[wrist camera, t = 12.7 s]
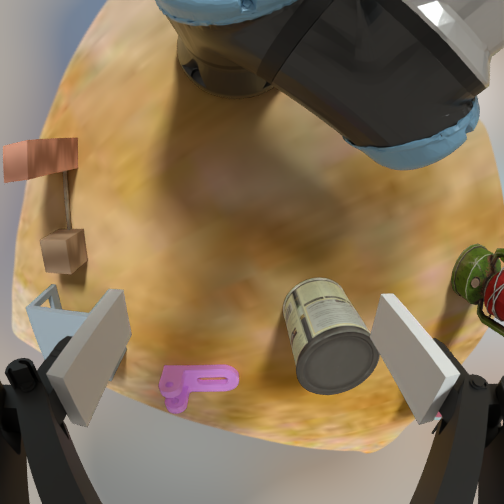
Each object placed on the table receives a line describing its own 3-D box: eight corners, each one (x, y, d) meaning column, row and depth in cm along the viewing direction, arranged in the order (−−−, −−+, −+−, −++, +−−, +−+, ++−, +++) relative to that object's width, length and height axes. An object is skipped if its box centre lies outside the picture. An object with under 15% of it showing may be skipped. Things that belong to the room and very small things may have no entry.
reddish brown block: (53, 141, 35) (1, 146, 23) (79, 137, 35) (28, 139, 24) (63, 258, 41) (21, 291, 30) (87, 259, 41) (48, 295, 30)
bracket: (171, 386, 50) (165, 413, 44) (164, 364, 49) (156, 391, 42) (240, 385, 51) (240, 413, 44) (237, 363, 49) (237, 391, 42)
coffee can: (350, 322, 46) (381, 379, 33) (290, 340, 47) (305, 404, 34) (341, 267, 43) (378, 318, 30) (274, 287, 44) (287, 347, 30)
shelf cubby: (51, 284, 43) (25, 307, 35) (114, 289, 43) (92, 317, 35) (67, 340, 47) (48, 367, 39) (126, 349, 47) (111, 381, 39)
